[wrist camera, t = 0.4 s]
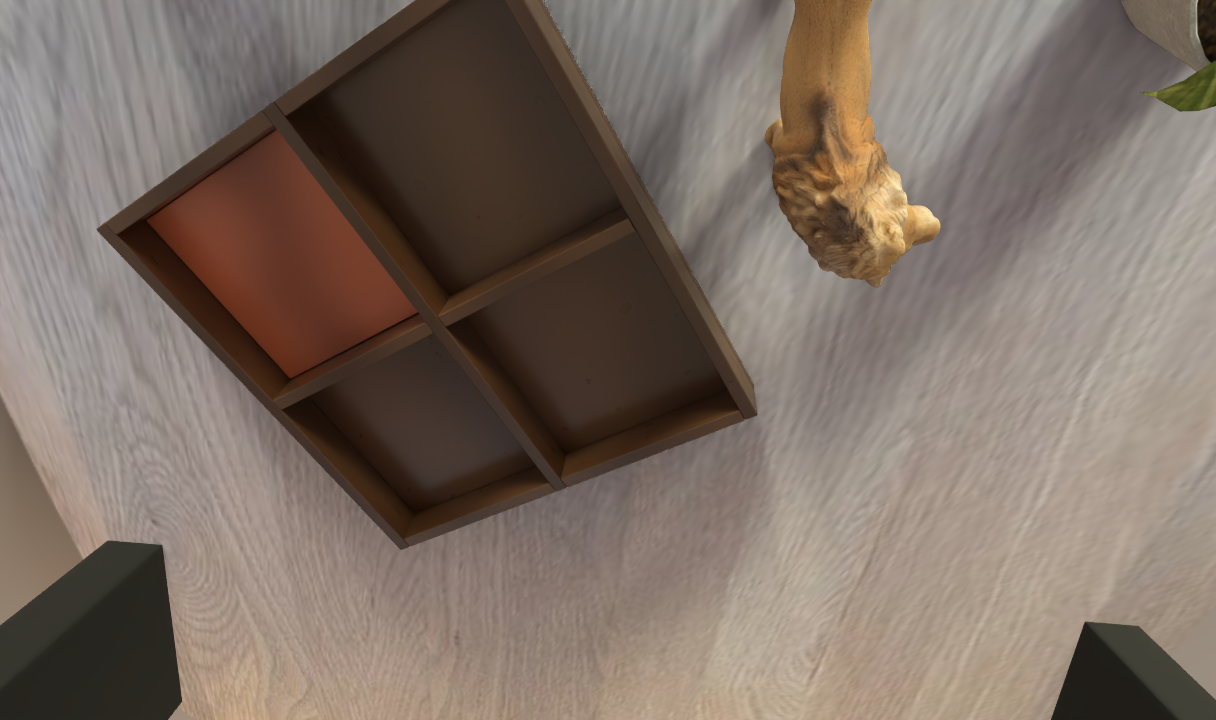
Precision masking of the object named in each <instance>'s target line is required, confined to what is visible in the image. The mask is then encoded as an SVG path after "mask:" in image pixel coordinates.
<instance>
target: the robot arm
mask: <svg viewBox="0 0 1216 720" xmlns="http://www.w3.org/2000/svg"><path fill="white" fill-rule="evenodd" d="M181 702H182V696H181V689H180V681H179V673H178V665H177V657H176V649H175V642H174V634H173V626H172V618H171V610H170V602H169V595H168V587H167V579H166V571H165V563H164V555H163V548H162V545H156V544H144V543H131V542H119V541H107V542H105V543H104V544H103V545H102V546H100V547H99V548H98V549H97V550H95V551H94V552H93V553H91V554H90V555H89V556H88V557H86V558H85V559H84V560H83V561H81V562H80V563H79V564H78V565H76V566H75V567H74V568H73V569H71V570H70V571H69V572H67V573H66V574H65V575H64V576H62V577H61V578H60V579H59V580H57V581H56V582H55V583H54V584H52V585H51V586H50V587H48V588H47V589H46V590H45V591H43V592H42V593H41V594H40V595H38V596H37V597H36V598H35V599H33V600H32V601H31V602H29V603H28V604H27V605H26V606H24V607H23V608H22V609H21V610H19V611H18V612H17V613H16V614H14V615H13V616H12V617H10V618H9V619H8V620H7V621H5V622H4V623H3V624H2V625H0V720H168V719H169V718H170V716H171V715H172V714H173V712H174V711H175V710H176V709H177V707H178V706H179V705H180V704H181ZM1051 720H1216V700H1215V699H1214V698H1213V697H1212V696H1211V695H1210V694H1209V693H1208V692H1207V691H1206V690H1205V689H1204V688H1203V687H1201V686H1200V685H1199V684H1198V683H1197V682H1196V681H1195V680H1194V679H1193V678H1192V677H1191V676H1190V675H1189V674H1188V673H1187V672H1186V671H1185V670H1184V669H1183V668H1182V667H1181V666H1180V665H1179V664H1177V663H1176V662H1175V661H1174V660H1173V659H1172V658H1171V657H1170V656H1169V655H1168V654H1167V653H1166V652H1165V651H1164V650H1163V649H1162V648H1161V647H1160V646H1159V645H1158V644H1157V643H1156V642H1154V641H1153V640H1152V639H1151V638H1150V637H1149V636H1148V635H1147V634H1146V633H1145V632H1144V631H1143V630H1142V629H1141V628H1140V627H1139V626H1131V625H1119V624H1107V623H1095V622H1085V623H1084V626H1083V629H1082V632H1081V635H1080V637H1079V640H1078V643H1077V646H1076V649H1075V652H1074V655H1073V658H1072V661H1071V663H1070V666H1069V669H1068V672H1067V675H1066V678H1065V681H1064V684H1063V687H1062V689H1061V692H1060V695H1059V698H1058V701H1057V704H1056V707H1055V710H1054V713H1053V715H1052V718H1051Z"/></svg>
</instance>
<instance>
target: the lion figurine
mask: <svg viewBox="0 0 1216 720" xmlns="http://www.w3.org/2000/svg"><path fill="white" fill-rule="evenodd" d="M794 1H795V14H794V19H793V23H792V26H791V30H790V33H789V36H788V40H787V44H786V48H785V53H784V60H783V76H782V82H781V92H780V110H781V119H779V120H777V121H775V122H774V123H773V124H772V125H771V126H770V127H769V128H768V130H767V132H766V136H765V140H766V142H767V143H768V144H769V145H770V147H771V148H772V151H773V154H774V156H775V157H776V160H775V163H774V166H773V172H772V179H773V185H774V189H775V190H776V194H777V196H778V197H779V206H780V208H781V210H782V212H783V213H784V214H785V215H786V216H787V219H788V221H789V222H790V224H791V226H792V229H793V230H794V231H795V232H796V233H797V235H798V236H799V237H800V238H801V239H802V240H804V242H805V243H806V244H807V245H808V250H809V253H810V255H811V256H812V257H813V258H814V259H815V260H817V262H818V264H819V267H820V268H821V269H822V270H824V271H833V272H834V273H836V274H837V275H838V276H840V277H842V278H853V279H860V280H863V279H864V280H866V281H867V282H868V283H869V284H870V285H871V286H873V287H879V286H881V282H882V280H883V276H886V275H887V274H888V273H889V272H890V269H891V265H893V264H895V263H896V262H897V261H898V260H899V258H900V257H901V256H902V255H903V254H904V253H906V252H907V251H908V250H909V249H910V247H911V246H912V245H917V244H922V243H926V242H929V241H931V240H933V239H934V238H935V237H936V235H937V234H938V232H939V231H940V222H939V220H938V219H937V218H935V217H934V216H933V214H932V213H931V211H930V210H929V209H927V208H926V207H924V206H919V205H915V206H910V205H908V204H907V196H906V193H904V191H903V190H902V183H901V178H900V175H899V174H898V173H897V172H895V171H894V170H892V169H891V168H890V167H889V166H888V162H887V159H886V154H885V152H884V150H883V147H882V146H881V145H880V144H879V143H877V142H876V141H875V138H874V124H873V121H872V119H871V118H870V116H869V115H868V114H867V113H866V111H867V105H868V99H869V93H870V83H871V62H870V48H869V37H868V29H867V17H868V11H869V8H870V5H871V2H872V0H794Z"/></svg>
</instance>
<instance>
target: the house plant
mask: <svg viewBox="0 0 1216 720" xmlns="http://www.w3.org/2000/svg"><path fill="white" fill-rule="evenodd" d="M1121 1H1122V3H1123V6H1124V8H1125V11H1126V13H1127V16H1128V17H1129V19H1130V20H1131V22H1132V23H1133V25H1134V26H1135V28H1136V29H1137V30H1138V31H1140V32H1141V33H1142V34H1144V35H1145V36H1147V37H1148V38H1150V39H1151V40H1152V41H1154V42H1155V43H1157V44H1158V45H1160V46H1161V47H1162V48H1164V49H1165V50H1167V51H1168V52H1170V53H1171V54H1172V55H1174V56H1175V57H1177V58H1178V59H1180V60H1181V61H1182V62H1184V63H1185V64H1187V65H1188V66H1190V67H1191V68H1193V69H1194V70H1195V71H1197V72H1196V73H1195V74H1193V75H1192V76H1190V77H1189V78H1187V79H1186V80H1184V81H1182V82H1180V83H1177V84H1175V85H1172V86H1170V87H1168V88H1165V89H1163V90H1160V91H1158V92H1140V93H1143V94H1146V95H1149V96H1152V97H1156V98H1157V99H1159V100H1161V101H1163V102H1164V103H1166V104H1168V105H1170V106H1171V107H1173V108H1175V109H1177V110H1178V111H1200V110H1203V109H1207V108H1210V107H1214V106H1216V0H1121Z"/></svg>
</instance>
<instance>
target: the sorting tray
mask: <svg viewBox="0 0 1216 720" xmlns="http://www.w3.org/2000/svg"><path fill="white" fill-rule="evenodd" d="M97 231H98V232H99V233H100V234H101V235H102V236H103V237H104V238H105V239H106V240H107V241H108V242H109V244H110V245H111V246H112V247H113V248H114V249H115V250H116V251H117V252H118V253H119V254H120V255H121V256H122V257H123V258H124V259H125V260H126V261H127V262H128V264H129V265H130V266H131V267H132V268H133V269H134V270H135V271H136V272H137V273H138V274H139V275H140V276H141V277H142V278H143V279H144V280H145V281H146V282H147V283H148V285H149V286H150V287H151V288H152V289H153V290H154V291H155V292H156V293H157V294H158V295H159V296H160V297H161V298H162V299H163V300H164V301H165V302H166V303H167V304H168V306H169V307H170V308H171V309H172V310H173V311H174V312H175V313H176V314H177V315H178V316H179V317H180V318H181V319H182V320H183V321H184V322H185V323H186V324H187V326H188V327H189V328H190V329H191V330H192V331H193V332H194V333H195V334H196V335H197V336H198V337H199V338H200V339H201V340H202V341H203V342H204V343H205V344H206V345H207V347H208V348H209V349H210V350H211V351H212V352H213V353H214V354H215V355H216V356H217V357H218V358H219V359H220V360H221V361H222V362H223V363H224V364H225V365H226V367H227V368H228V369H229V370H230V371H231V372H232V373H233V374H234V375H235V376H236V377H237V378H238V379H239V380H240V381H241V382H242V383H243V384H244V385H245V386H246V388H247V389H248V390H249V391H250V392H251V393H252V394H253V395H254V396H255V397H256V398H257V399H258V400H259V401H260V402H261V403H262V404H263V405H264V406H265V408H266V409H267V410H268V411H269V412H270V413H271V414H272V415H273V416H274V417H275V418H276V419H277V420H278V421H279V422H280V423H281V424H282V425H283V426H284V427H285V429H286V430H287V431H288V432H289V433H290V434H291V435H292V436H293V437H294V438H295V439H296V440H297V441H298V442H299V443H300V444H301V445H302V446H303V447H304V448H305V450H306V451H307V452H308V453H309V454H310V455H311V456H312V457H313V458H314V459H315V460H316V461H317V462H318V463H319V464H320V465H321V466H322V467H323V468H324V470H325V471H326V472H327V473H328V474H329V475H330V476H331V477H332V478H333V479H334V480H335V481H336V482H337V483H338V484H339V485H340V486H341V487H342V488H343V489H344V491H345V492H346V493H347V494H348V495H349V496H350V497H351V498H352V499H353V500H354V501H355V502H356V503H357V504H358V505H359V506H360V507H361V508H362V509H363V511H364V512H365V513H366V514H367V515H368V516H369V517H370V518H371V519H372V520H373V521H374V522H375V523H376V524H377V525H378V526H379V527H380V528H381V529H382V530H383V532H384V533H385V534H386V535H387V536H388V537H389V538H390V539H391V540H392V541H393V542H394V543H395V544H396V545H397V546H398V547H399V548H400V549H401V550H402V549H405V548H408V547H409V546H413V545H415V544H418V543H421V542H423V541H426V540H429V539H431V538H434V537H436V536H439V535H442V534H444V533H447V532H450V531H452V530H455V529H458V528H460V527H463V526H466V525H468V524H471V523H474V522H476V521H479V520H482V519H484V518H487V517H489V516H492V515H495V514H497V513H500V512H503V511H505V510H508V509H511V508H513V507H516V506H519V505H521V504H524V503H527V502H529V501H532V500H535V499H537V498H540V497H542V496H545V495H548V494H550V493H553V492H555V491H559V490H562V489H564V488H566V487H569V486H572V485H575V484H577V483H580V482H583V481H585V480H588V479H591V478H593V477H596V476H599V475H601V474H604V473H607V472H609V471H612V470H614V469H617V468H620V467H622V466H625V465H628V464H630V463H633V462H636V461H638V460H641V459H644V458H646V457H649V456H652V455H654V454H657V453H660V452H662V451H665V450H667V449H670V448H673V447H675V446H678V445H681V444H683V443H686V442H689V441H691V440H694V439H697V438H699V437H702V436H705V435H707V434H710V433H713V432H715V431H718V430H721V429H723V428H726V427H728V426H731V425H734V424H736V423H739V422H742V421H744V419H745V420H746V419H749V418H752V417H754V416H757V407H756V399H755V392H754V384H753V382H752V380H751V378H750V377H749V375H748V373H747V371H746V369H745V368H744V366H743V364H742V362H741V360H740V358H739V357H738V355H737V353H736V351H735V349H734V348H733V346H732V344H731V342H730V340H729V339H728V337H727V335H726V333H725V331H724V329H723V328H722V326H721V324H720V322H719V320H718V319H717V317H716V315H715V313H714V311H713V310H712V308H711V306H710V304H709V302H708V300H707V299H706V297H705V295H704V293H703V291H702V290H701V288H700V286H699V284H698V282H697V281H696V279H695V277H694V275H693V273H692V271H691V270H690V268H689V266H688V264H687V262H686V261H685V259H684V257H683V255H682V253H681V252H680V250H679V248H678V246H677V244H676V242H675V241H674V239H673V237H672V235H671V233H670V232H669V230H668V228H667V226H666V224H665V222H664V221H663V219H662V217H661V215H660V213H659V212H658V210H657V208H656V206H655V204H654V203H653V201H652V199H651V197H650V195H649V193H648V192H647V190H646V188H645V186H644V184H643V183H642V181H641V179H640V177H639V175H638V174H637V172H636V170H635V168H634V166H633V164H632V163H631V161H630V159H629V157H628V155H627V154H626V152H625V150H624V148H623V146H622V145H621V143H620V141H619V139H618V137H617V135H616V134H615V132H614V130H613V128H612V126H611V125H610V123H609V121H608V119H607V117H606V116H605V114H604V112H603V110H602V108H601V106H600V105H599V103H598V101H597V99H596V97H595V96H594V94H593V92H592V90H591V88H590V86H589V85H588V83H587V81H586V79H585V77H584V76H583V74H582V72H581V70H580V68H579V67H578V65H577V63H576V61H575V59H574V57H573V56H572V54H571V52H570V50H569V48H568V47H567V45H566V43H565V41H564V39H563V38H562V36H561V34H560V32H559V30H558V28H557V27H556V25H555V23H554V21H553V19H552V18H551V16H550V14H549V12H548V10H547V9H546V7H545V5H544V3H543V1H542V0H415V1H414V2H412V3H411V4H409V5H408V6H407V7H405V8H404V9H402V10H401V11H400V12H398V13H397V14H395V15H394V16H393V17H391V18H390V19H388V20H387V21H386V22H384V23H383V24H381V25H380V26H379V27H377V28H376V29H374V30H373V31H372V32H370V33H369V34H367V35H366V36H365V37H363V38H362V39H361V40H359V41H358V42H356V43H355V44H354V45H352V46H351V47H349V48H348V49H347V50H345V51H344V52H342V53H341V54H340V55H338V56H337V57H335V58H334V59H333V60H331V61H330V62H328V63H327V64H326V65H324V66H323V67H321V68H320V69H319V70H317V71H316V72H315V73H313V74H312V75H310V76H309V77H308V78H306V79H305V80H303V81H302V82H301V83H299V84H298V85H296V86H295V87H294V88H292V89H291V90H289V91H288V92H287V93H285V94H284V95H282V96H281V97H280V98H278V99H277V100H276V101H274V102H273V103H271V104H270V105H268V106H267V107H266V108H264V109H263V110H261V111H260V112H259V113H257V114H256V115H254V116H253V117H252V118H250V119H249V120H247V121H246V122H245V123H243V124H242V125H240V126H239V127H238V128H236V129H235V130H234V131H232V132H231V133H229V134H228V135H227V136H225V137H224V138H222V139H221V140H220V141H218V142H217V143H215V144H214V145H213V146H211V147H210V148H208V149H207V150H206V151H204V152H203V153H201V154H200V155H199V156H197V157H196V158H194V159H193V160H192V161H190V162H189V163H187V164H186V165H185V166H183V167H182V168H181V169H179V170H178V171H176V172H175V173H174V174H172V175H171V176H169V177H168V178H167V179H165V180H164V181H162V182H161V183H160V184H158V185H157V186H155V187H154V188H153V189H151V190H150V191H148V192H147V193H146V194H144V195H143V196H141V197H140V198H139V199H137V200H136V201H134V202H133V203H132V204H130V205H129V206H128V207H126V208H125V209H123V210H122V211H121V212H119V213H118V214H116V215H115V216H114V217H112V218H111V219H109V220H108V221H107V222H106V223H104V224H102V225H101V226H100V227H98V228H97Z"/></svg>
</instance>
